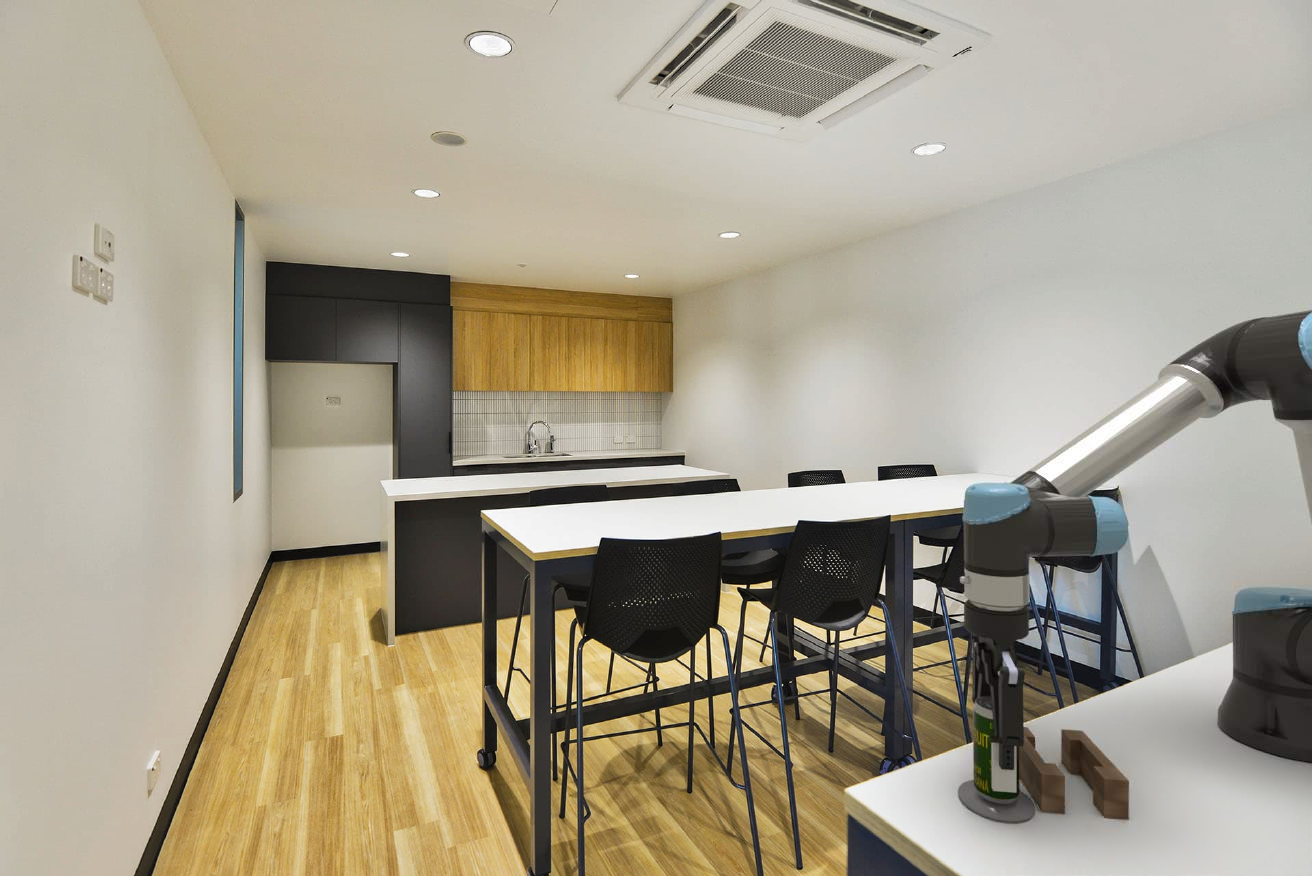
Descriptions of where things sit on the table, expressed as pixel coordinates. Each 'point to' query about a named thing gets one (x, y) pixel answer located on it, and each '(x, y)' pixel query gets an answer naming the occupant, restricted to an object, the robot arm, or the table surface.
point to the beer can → (987, 754)
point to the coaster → (996, 805)
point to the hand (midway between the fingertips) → (996, 776)
